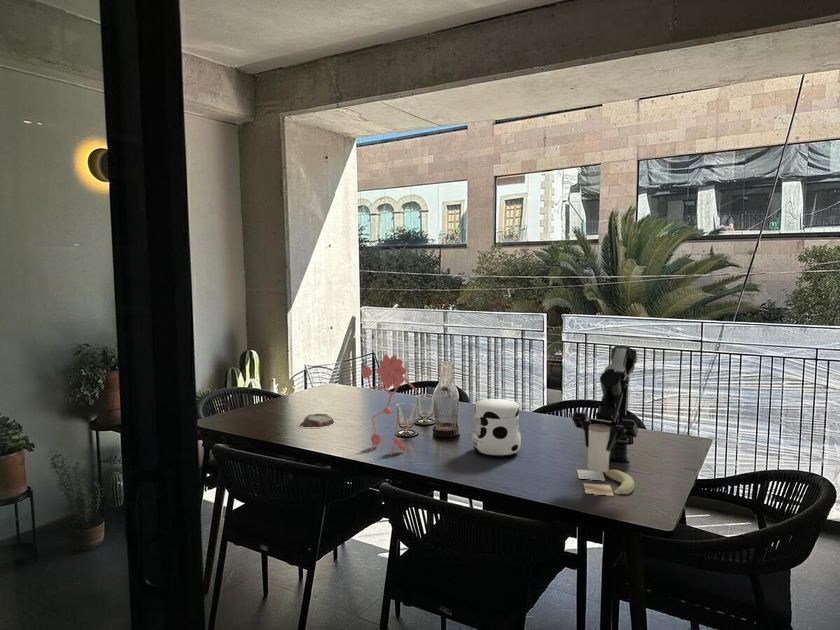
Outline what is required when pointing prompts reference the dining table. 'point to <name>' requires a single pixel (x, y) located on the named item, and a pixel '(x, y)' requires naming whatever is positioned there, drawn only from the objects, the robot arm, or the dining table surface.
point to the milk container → (496, 428)
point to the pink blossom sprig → (389, 375)
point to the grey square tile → (590, 475)
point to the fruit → (621, 481)
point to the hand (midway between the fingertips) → (597, 448)
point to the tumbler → (598, 447)
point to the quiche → (317, 420)
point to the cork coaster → (598, 489)
